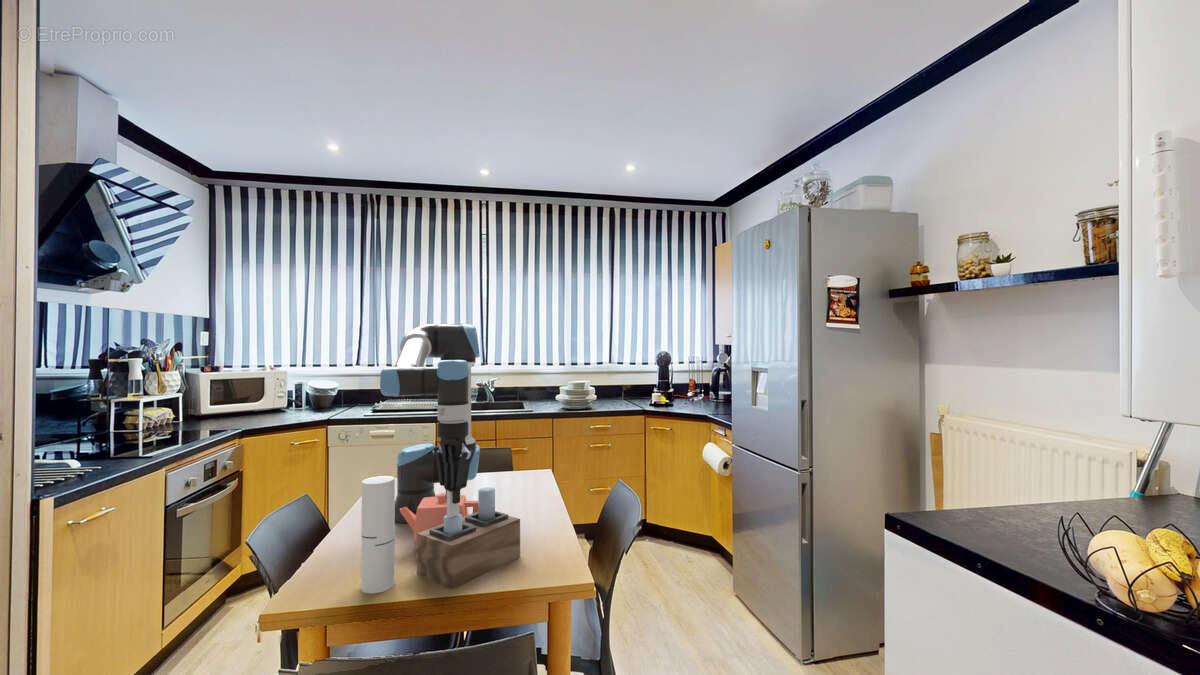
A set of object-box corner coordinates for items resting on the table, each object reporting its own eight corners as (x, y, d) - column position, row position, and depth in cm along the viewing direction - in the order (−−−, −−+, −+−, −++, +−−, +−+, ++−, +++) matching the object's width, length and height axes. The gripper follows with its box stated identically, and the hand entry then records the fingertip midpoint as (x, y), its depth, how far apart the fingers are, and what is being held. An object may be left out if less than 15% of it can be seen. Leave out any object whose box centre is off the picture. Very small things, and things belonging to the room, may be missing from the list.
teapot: (394, 556, 132) (395, 503, 132) (404, 538, 144) (404, 490, 144) (478, 549, 136) (478, 498, 136) (480, 532, 148) (480, 486, 148)
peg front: (440, 553, 121) (440, 517, 121) (454, 547, 125) (454, 512, 125) (451, 557, 119) (451, 520, 119) (465, 551, 122) (465, 515, 122)
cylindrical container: (368, 579, 118) (368, 476, 119) (398, 578, 119) (398, 475, 119) (356, 594, 111) (356, 484, 112) (388, 592, 112) (388, 483, 112)
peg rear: (474, 524, 130) (474, 490, 130) (487, 519, 134) (487, 486, 134) (486, 527, 128) (485, 493, 128) (498, 522, 131) (498, 489, 131)
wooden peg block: (416, 573, 121) (416, 529, 121) (485, 544, 139) (485, 505, 139) (452, 589, 113) (452, 541, 113) (520, 556, 131) (520, 515, 131)
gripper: (424, 420, 123) (424, 514, 123) (457, 425, 116) (457, 525, 115) (449, 417, 129) (449, 506, 129) (481, 421, 122) (482, 516, 121)
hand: (452, 515), depth 122 cm, fingers closed
